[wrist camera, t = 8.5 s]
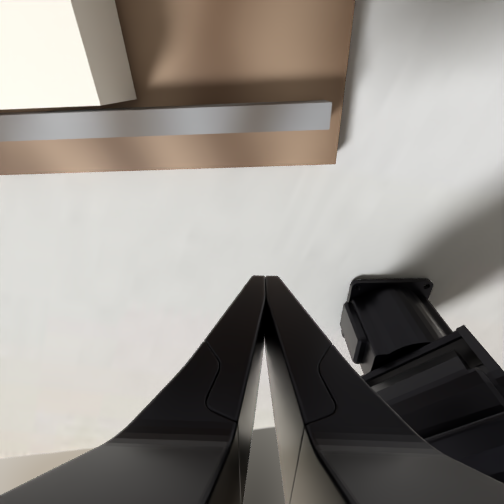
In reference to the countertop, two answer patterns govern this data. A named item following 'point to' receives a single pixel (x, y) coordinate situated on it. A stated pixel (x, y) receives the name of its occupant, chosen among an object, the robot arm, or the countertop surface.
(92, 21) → the carriage
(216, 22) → the gauge base
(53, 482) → the robot arm
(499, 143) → the countertop surface
